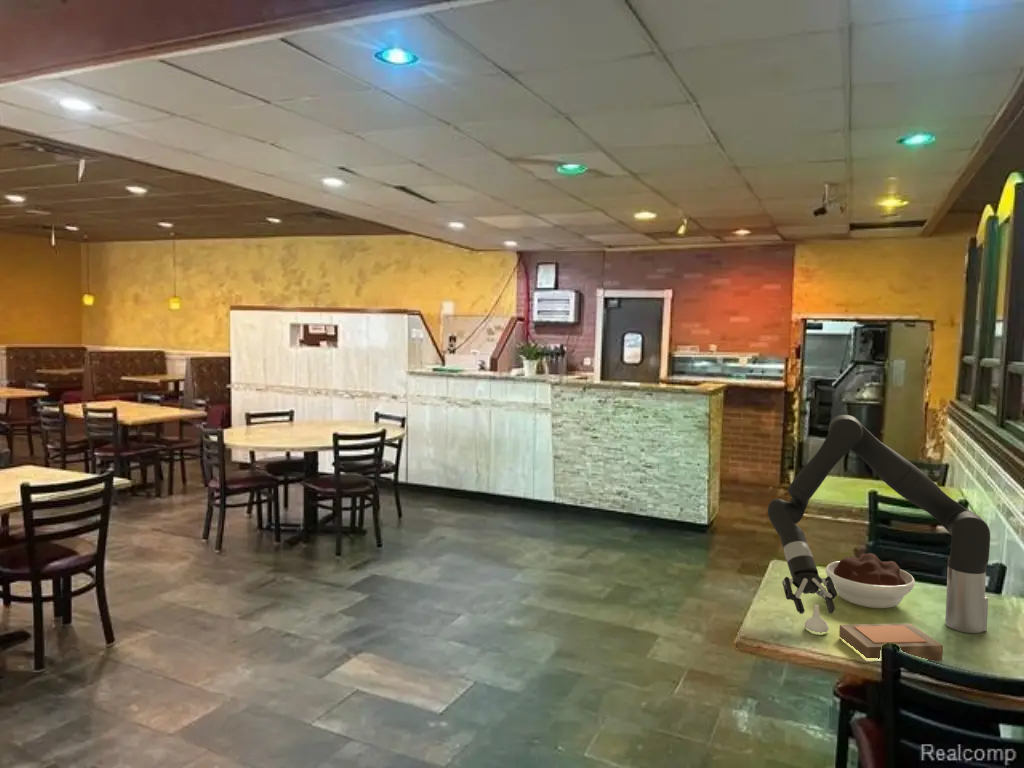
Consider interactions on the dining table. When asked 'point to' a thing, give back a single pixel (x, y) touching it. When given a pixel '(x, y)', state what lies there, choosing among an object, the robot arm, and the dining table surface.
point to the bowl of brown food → (870, 581)
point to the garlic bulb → (816, 622)
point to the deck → (872, 650)
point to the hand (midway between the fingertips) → (817, 612)
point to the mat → (889, 634)
